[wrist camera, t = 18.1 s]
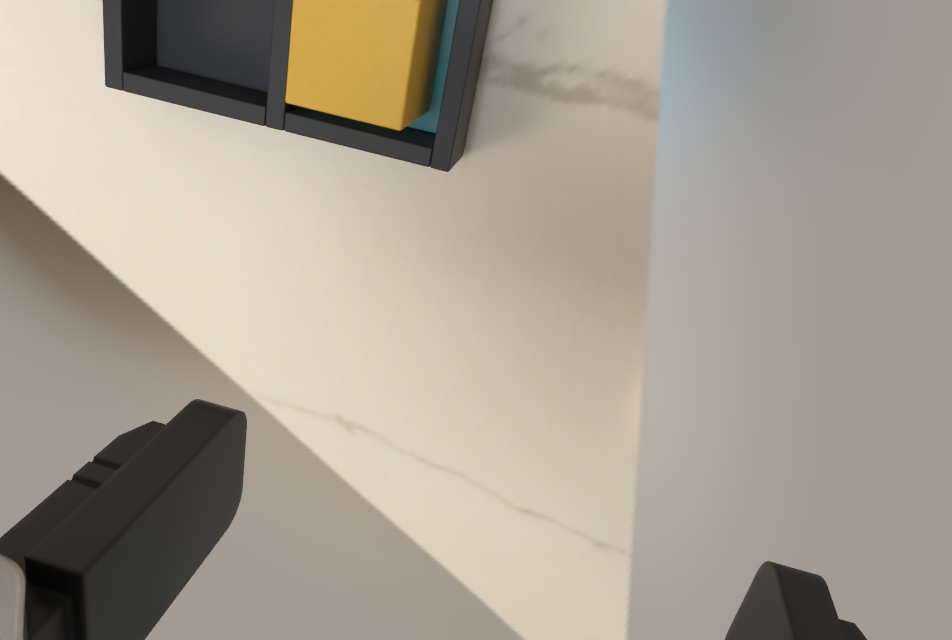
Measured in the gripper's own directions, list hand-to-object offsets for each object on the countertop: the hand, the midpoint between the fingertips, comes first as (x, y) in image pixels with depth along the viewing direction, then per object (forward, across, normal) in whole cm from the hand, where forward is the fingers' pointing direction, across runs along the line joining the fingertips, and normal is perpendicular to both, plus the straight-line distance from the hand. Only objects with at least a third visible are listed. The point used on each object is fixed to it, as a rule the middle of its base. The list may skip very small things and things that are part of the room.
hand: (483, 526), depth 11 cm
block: (+22, +9, -4) cm, 24 cm away
